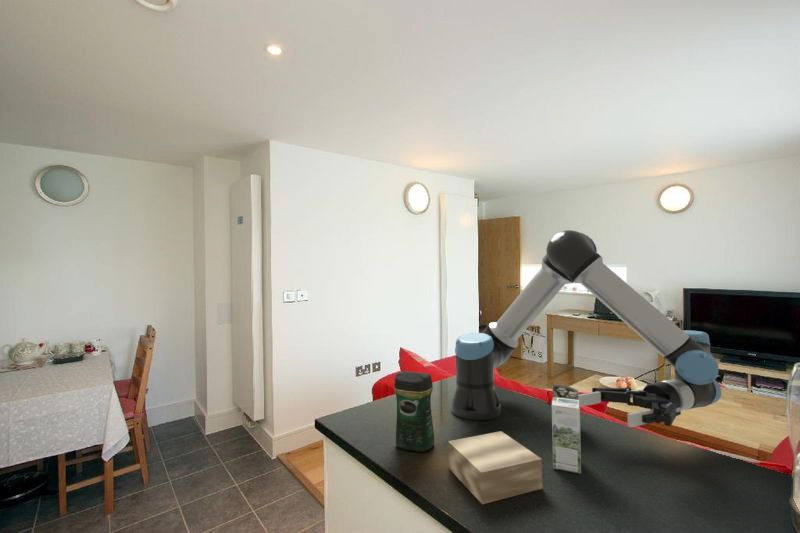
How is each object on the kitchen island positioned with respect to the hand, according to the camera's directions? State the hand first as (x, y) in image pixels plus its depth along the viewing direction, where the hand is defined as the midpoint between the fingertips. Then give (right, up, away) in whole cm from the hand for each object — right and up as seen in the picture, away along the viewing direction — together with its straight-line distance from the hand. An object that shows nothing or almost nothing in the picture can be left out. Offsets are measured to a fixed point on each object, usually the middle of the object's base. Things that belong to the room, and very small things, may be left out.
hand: (602, 409), depth 87 cm
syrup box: (-10, -12, -3) cm, 15 cm away
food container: (0, -12, +17) cm, 21 cm away
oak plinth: (-27, -12, -7) cm, 31 cm away
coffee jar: (-43, -12, +8) cm, 46 cm away
